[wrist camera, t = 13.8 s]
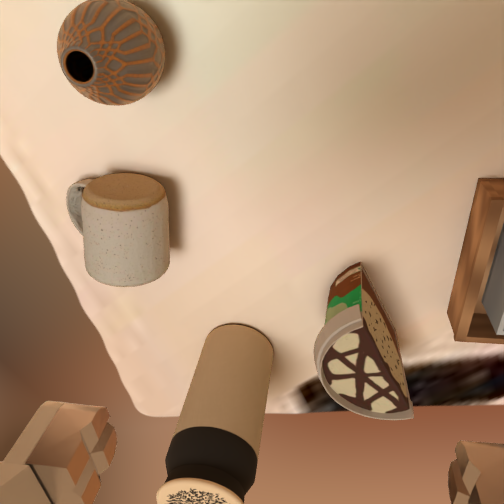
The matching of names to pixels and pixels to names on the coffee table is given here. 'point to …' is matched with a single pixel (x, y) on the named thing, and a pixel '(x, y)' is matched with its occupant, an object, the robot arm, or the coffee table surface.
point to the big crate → (477, 265)
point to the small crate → (496, 289)
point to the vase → (111, 51)
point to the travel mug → (220, 421)
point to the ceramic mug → (122, 227)
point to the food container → (361, 351)
